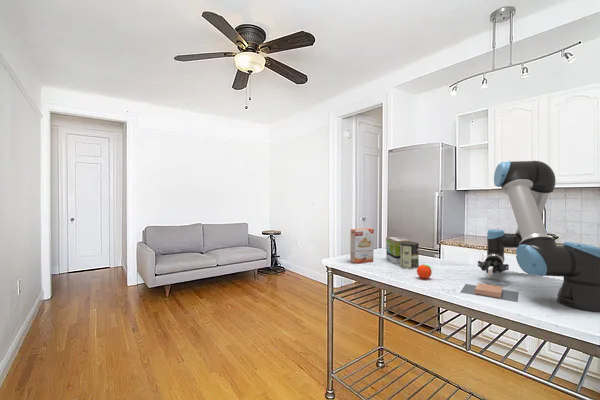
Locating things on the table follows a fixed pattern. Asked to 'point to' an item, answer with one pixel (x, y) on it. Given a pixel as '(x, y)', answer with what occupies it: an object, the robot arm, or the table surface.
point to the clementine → (424, 271)
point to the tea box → (394, 248)
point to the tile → (489, 290)
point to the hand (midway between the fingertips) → (490, 272)
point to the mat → (505, 296)
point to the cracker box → (362, 245)
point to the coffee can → (409, 255)
